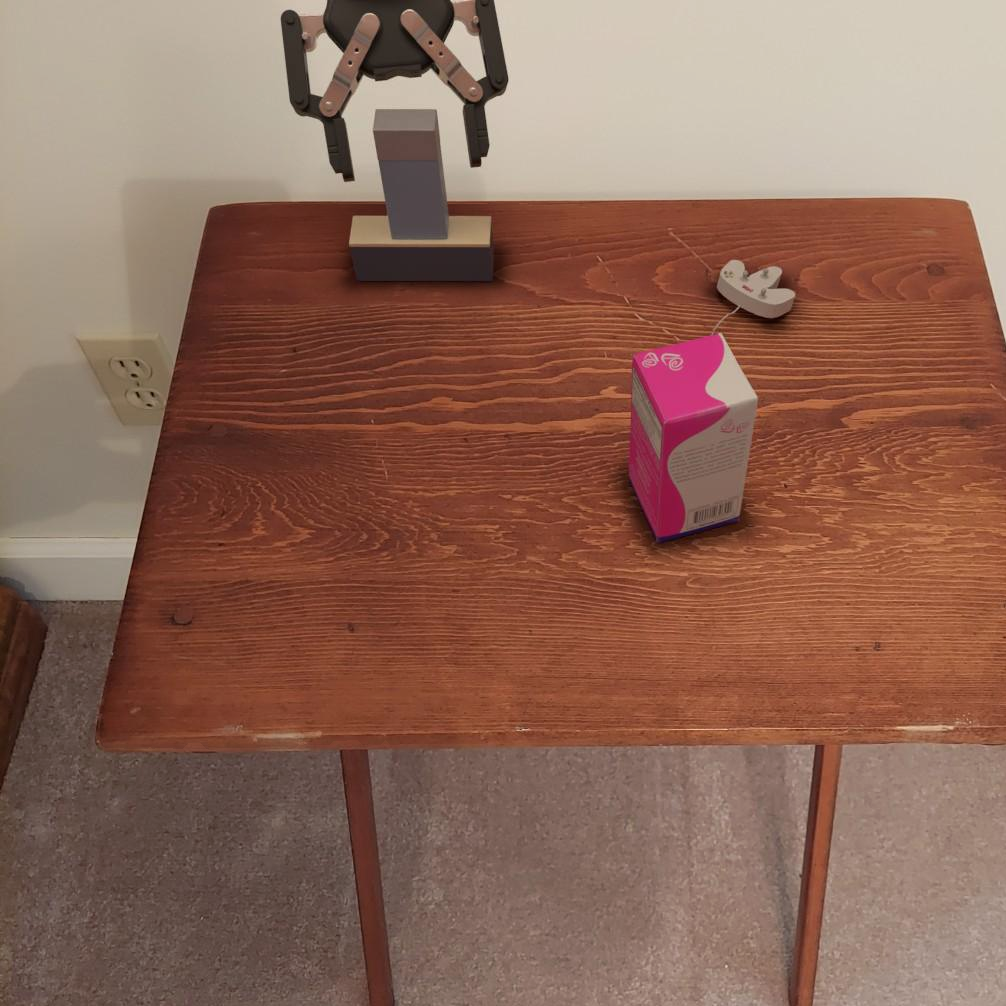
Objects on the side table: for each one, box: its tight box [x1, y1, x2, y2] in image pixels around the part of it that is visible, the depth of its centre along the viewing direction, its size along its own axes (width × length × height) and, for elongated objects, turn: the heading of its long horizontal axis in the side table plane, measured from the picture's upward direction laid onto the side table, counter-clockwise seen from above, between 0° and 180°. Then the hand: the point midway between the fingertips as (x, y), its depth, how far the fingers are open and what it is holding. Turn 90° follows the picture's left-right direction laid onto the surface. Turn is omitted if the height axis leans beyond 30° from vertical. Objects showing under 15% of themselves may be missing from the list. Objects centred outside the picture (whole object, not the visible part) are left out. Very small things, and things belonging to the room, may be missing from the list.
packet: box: [372, 108, 450, 239], centre depth 81 cm, size 4×2×9 cm, turn 91°
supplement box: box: [628, 332, 759, 543], centre depth 71 cm, size 6×6×12 cm
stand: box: [348, 215, 495, 282], centre depth 86 cm, size 10×3×4 cm, turn 91°
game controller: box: [710, 259, 796, 335], centre depth 83 cm, size 6×12×3 cm, turn 158°
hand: (412, 173), depth 79 cm, fingers open, 8 cm apart
